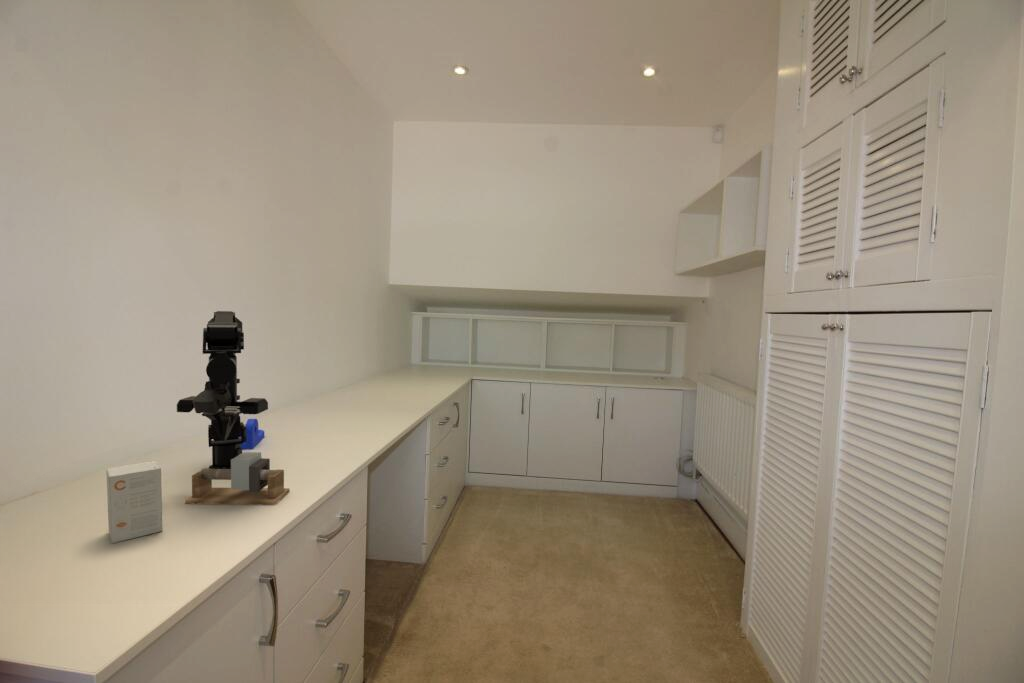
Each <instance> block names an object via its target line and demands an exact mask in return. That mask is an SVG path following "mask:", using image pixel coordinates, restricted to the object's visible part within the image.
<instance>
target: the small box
mask: <svg viewBox="0 0 1024 683" xmlns="http://www.w3.org/2000/svg"><path fill="white" fill-rule="evenodd" d="M106 488H107V489H106V490H107V492H106V493H107V517H108V518H107V520H108V533H109V534H108V535H109V538H110V542H111V544H115V543H120V542H123V541H127V540H131V539H135V538H139V537H143V536H147V535H151V534H155V533H161V532H163V494H162V492H163V491H162V468H161V467H160V465H159V463H158V462H157V461H156V460H152V461H145V462H140V463H132V464H126V465H120V466H114V467H107V468H106Z"/></svg>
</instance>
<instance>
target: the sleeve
mask: <svg viewBox="0 0 1024 683" xmlns="http://www.w3.org/2000/svg"><path fill="white" fill-rule="evenodd" d="M261 458H262V452H261V451H259V452H257V451H254V452H253V451H244V452H243V451H242V454H240V455H238V456H237V457H235V458H233V459H231V468H230V469H231V480H230V488H231V490H249V466H250V465H252V464H253V463H255V462H256V461H258V460H260V459H261Z"/></svg>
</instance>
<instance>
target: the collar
mask: <svg viewBox="0 0 1024 683" xmlns="http://www.w3.org/2000/svg"><path fill="white" fill-rule="evenodd" d="M270 460H271V459H270V458H262V457H261V459H260V460H258V461H256V462H255V463H253V464H252V465H250V466H249V492H259V491H260V490H261V489H263V488H266V486H268V480H261V481H260V469H263V470H271V469H270V468H271V467H270V466H271V465H270V462H271V461H270Z"/></svg>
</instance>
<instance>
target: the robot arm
mask: <svg viewBox="0 0 1024 683" xmlns="http://www.w3.org/2000/svg"><path fill="white" fill-rule="evenodd" d="M244 336H245V335H244V332H243V322H242V321H241V320H240V319H239V318H238V317H236V312H235V311H231V310H230V311H229V310H226V311H225V310H222V311H221V310H216V311H214V312H213V317H212V318H211V319H210V320H209V321H207V324H206V327H203V331H202V355H209V356H208V363H207V365H206V368H205V369H206V370H205V371H206V376H207V377H208V380H207V381H205V384H204V388H203V391H200V393H198V394H197V395H196V396H195V395H191V396H188V397H187V396H186V397H184V398H182V399H181V398H180V399H179V400H178V401H177V403H176V412H177V413H190V412H192V411H193V410H194V412H195V414H201V416H202V417H206V418H207V419H208V420H210V424H208V426H207V427H208V429H207V432H208V433H207V437H208V439H207V440H208V447H209V448H211V451H212V452H211V461H212V462H211V463H212V464H210V465H209V466H208V469H231V459H233V458H235V457H237V456H238V455H240V454H242V453H243V450H242V447H241V444H243V443H244V442H246V425H245V424H244V421H241V415H240V414H243V415H258V414H261V413H263V412H266V411H267V410H269V402H268V401H267V399H266V398H264V397H263V398H262V397H261V398H260V397H250V398H247V399H246V400H245V399H244V400H243V401H240V400H241V395H240V394H238V384H240V383H241V381H240V380H241V379H240V378H238V371H237V369H238V368H237V366H238V362H237V361H238V360H237V359H238V358H237V355H236V354H241V353H242V350H245V340H244V339H245V338H244ZM238 437H241V438H238Z"/></svg>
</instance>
